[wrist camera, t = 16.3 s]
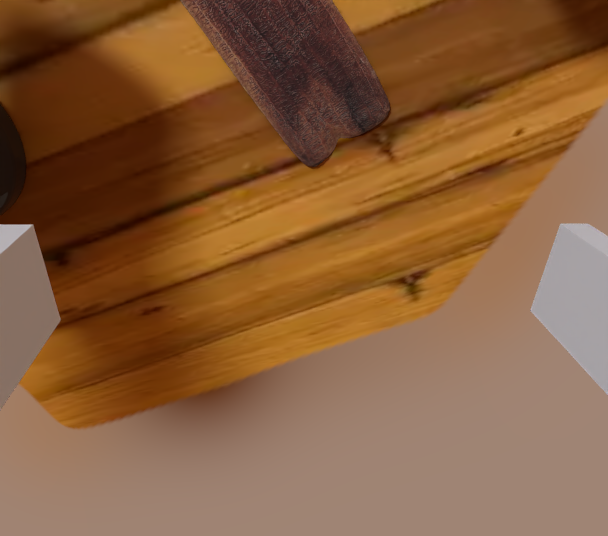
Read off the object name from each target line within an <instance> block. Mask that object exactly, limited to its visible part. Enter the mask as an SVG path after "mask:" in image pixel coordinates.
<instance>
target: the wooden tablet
mask: <svg viewBox="0 0 608 536" xmlns="http://www.w3.org/2000/svg"><path fill="white" fill-rule="evenodd" d="M180 1H181V2H182V3H183V5H184V6H185V7H186V9H187V10H188V11H189V13H190V14H191V15H192V17H193V18H194V19H195V21H196V22H197V24H198V25H199V26H200V27H201V29H202V30H203V32H204V33H205V34H206V36H207V37H208V38H209V40H210V41H211V43H212V44H213V46H214V47H215V48H216V50H217V51H218V53H219V54H220V55H221V57H222V58H223V60H224V61H225V62H226V64H227V65H228V67H229V68H230V69H231V71H232V72H233V73H234V75H235V76H236V77H237V79H238V80H239V82H240V83H241V85H242V86H243V87H244V89H245V90H246V91H247V93H248V94H249V95H250V96H251V98H252V99H253V100H254V102H255V103H256V105H257V106H258V107H259V109H260V110H261V111H262V112H263V114H264V115H265V116H266V117H267V119H268V120H269V122H270V123H271V124H272V126H273V127H274V128H275V130H276V131H277V132H278V134H279V135H280V136H281V137H282V139H283V140H284V142H285V143H286V144H287V145H288V147H289V148H290V149H291V150H292V152H293V153H294V154H295V155H296V156H297V157H298V158H299V159H300V160H301V161H302V162H303V163H304V164H306V165H307V166H312V167H315V166H318V165H319V164H320V163H322V162H323V161H324V160H325V159H326V158H327V157H328V156H329V155H330V154H331V153H332V151H333V150H334V148H335V146H336V144H337V141H338V139H339V138H350V137H354V136H358V135H360V134H363V133H365V132H367V131H369V130H370V129H372V128H374V127H375V126H377V125H378V124H379V123H381V122H382V121H383V120H384V119H385V118H386V117H387V115H388V112H389V110H390V105H389V101H388V98H387V96H386V94H385V92H384V90H383V88H382V86H381V84H380V82H379V79H378V77H377V75H376V73H375V72H374V70H373V68H372V66H371V65H370V63H369V61H368V59H367V57H366V56H365V54H364V53H363V50H362V48H361V47H360V45H359V44H358V42H357V40H356V38H355V37H354V35H353V33H352V32H351V30H350V28H349V27H348V25H347V24H346V22H345V21H344V19H343V17H342V16H341V14H340V12H339V11H338V9H337V7H336V6H335V5H334V3H333V1H332V0H180Z"/></svg>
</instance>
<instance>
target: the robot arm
mask: <svg viewBox="0 0 608 536" xmlns="http://www.w3.org/2000/svg"><path fill="white" fill-rule="evenodd" d="M25 174H26V160H25V153H24V149H23V145H22V142H21V139H20V137H19V134H18V132H17V130H16V128H15V126H14V124H13V122H12V120H11V119H10V117H9V116H8V114H7V113H6V111H5V110H4V108H3V107H2V106H1V105H0V215H1V214H3V213H4V212H5V211H7V210H8V209H9V208H10V207H11V206H12V205H13V204H14V202H15V201H16V200H17V198H18V197H19V195H20V193H21V190H22V188H23V185H24V181H25ZM530 311H531V312H532V313H533V314H534V315H535V316H536V317H537V318H538V320H540V322H541V323H542V324H543V325H544V326H545V327H546V328H547V329H548V330H549V331H550V333H551V334H552V335H553V336H554V337H555V338H556V339H557V340H558V341H559V342H560V343H561V344H562V346H563V347H564V348H565V349H566V350H567V351H568V352H569V353H570V354H571V355H572V357H573V358H574V359H575V360H576V361H577V362H578V363H579V364H580V365H581V366H582V367H583V369H584V370H585V371H586V372H587V373H588V374H589V375H590V376H591V377H592V378H593V380H594V381H595V382H596V383H597V384H598V385H599V386H600V387H601V388H602V389H603V390H604V391H605V393H606V394H607V395H608V236H607V235H605V234H603V233H602V232H600V231H599V230H597V229H596V228H594V227H592V226H591V225H589V224H560V227H559V229H558V232H557V235H556V238H555V241H554V244H553V247H552V250H551V253H550V255H549V258H548V261H547V264H546V267H545V270H544V273H543V276H542V279H541V281H540V284H539V287H538V290H537V293H536V296H535V299H534V302H533V305H532V307H531V310H530ZM60 320H61V319H60V315H59V312H58V308H57V305H56V302H55V298H54V295H53V291H52V288H51V284H50V281H49V277H48V274H47V270H46V267H45V264H44V260H43V257H42V253H41V250H40V246H39V243H38V239H37V236H36V232H35V229H34V226H33V225H0V410H1V408H2V407H3V406H4V404H5V403H6V401H7V400H8V398H9V397H10V395H11V393H12V392H13V391H14V389H15V388H16V386H17V385H18V383H19V382H20V380H21V379H22V377H23V376H24V374H25V373H26V371H27V370H28V368H29V367H30V365H31V364H32V362H33V361H34V359H35V358H36V356H37V355H38V353H39V352H40V350H41V349H42V347H43V346H44V344H45V343H46V341H47V340H48V338H49V337H50V335H51V334H52V332H53V331H54V329H55V328H56V326H57V325H58V323H59V322H60Z"/></svg>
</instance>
